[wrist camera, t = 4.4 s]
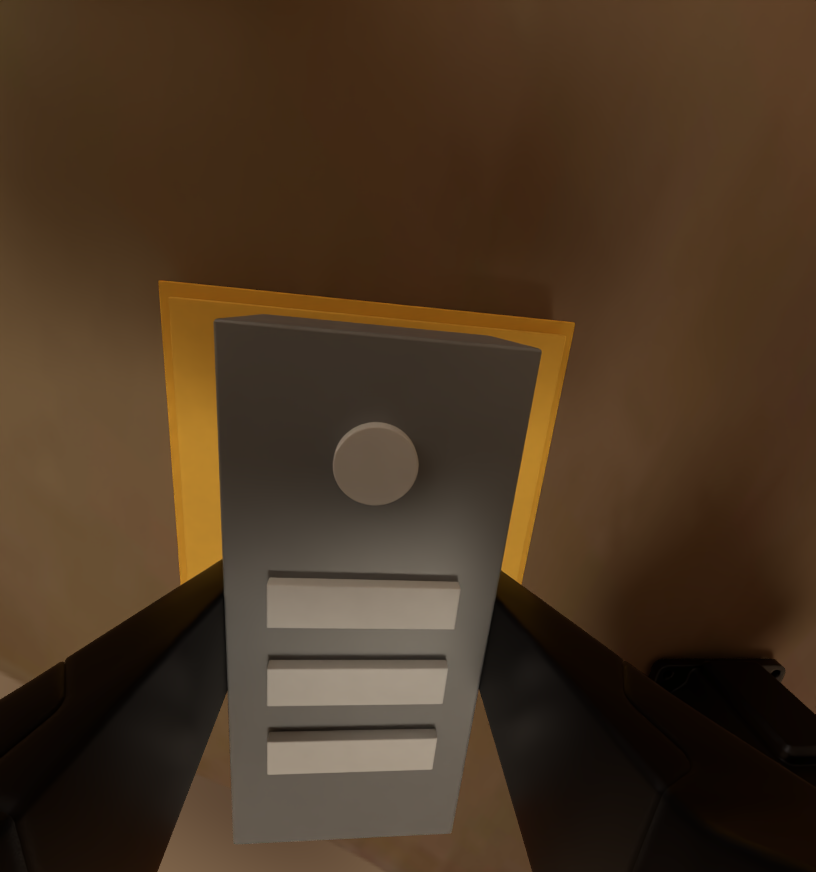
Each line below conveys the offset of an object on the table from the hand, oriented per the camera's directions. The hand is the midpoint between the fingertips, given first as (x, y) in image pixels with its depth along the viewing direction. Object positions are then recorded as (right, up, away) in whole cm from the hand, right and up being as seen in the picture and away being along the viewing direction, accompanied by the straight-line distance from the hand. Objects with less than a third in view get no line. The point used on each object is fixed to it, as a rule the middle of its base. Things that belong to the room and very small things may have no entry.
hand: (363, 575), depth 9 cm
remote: (0, 0, +1) cm, 1 cm away
